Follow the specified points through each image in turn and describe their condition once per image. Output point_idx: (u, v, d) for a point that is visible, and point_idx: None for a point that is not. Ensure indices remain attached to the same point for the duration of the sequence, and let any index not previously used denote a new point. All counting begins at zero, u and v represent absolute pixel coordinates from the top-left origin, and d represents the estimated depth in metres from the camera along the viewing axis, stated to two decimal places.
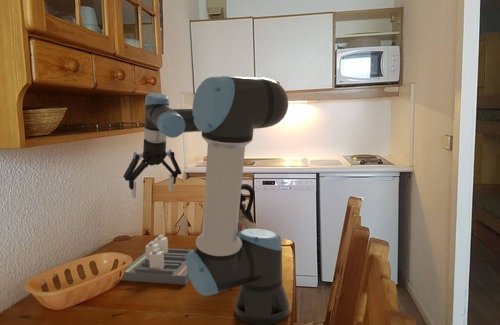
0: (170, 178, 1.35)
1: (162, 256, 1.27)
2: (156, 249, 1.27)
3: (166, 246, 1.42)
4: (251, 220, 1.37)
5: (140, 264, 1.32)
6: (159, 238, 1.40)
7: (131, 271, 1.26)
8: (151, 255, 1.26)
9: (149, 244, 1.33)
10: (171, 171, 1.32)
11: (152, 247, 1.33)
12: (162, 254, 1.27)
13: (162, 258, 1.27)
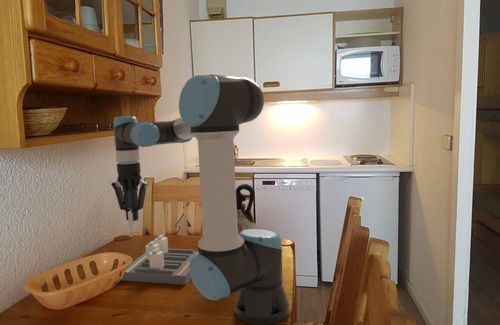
0: None
1: (162, 256, 1.27)
2: (156, 249, 1.27)
3: (166, 246, 1.42)
4: (251, 220, 1.37)
5: (140, 264, 1.32)
6: (159, 238, 1.40)
7: (131, 271, 1.26)
8: (151, 255, 1.26)
9: (149, 244, 1.33)
10: (132, 203, 1.25)
11: (152, 247, 1.33)
12: (162, 254, 1.27)
13: (162, 258, 1.27)
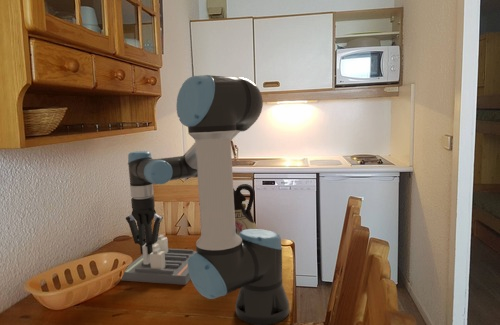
0: None
1: (163, 256, 1.27)
2: (157, 249, 1.27)
3: (166, 246, 1.42)
4: (251, 220, 1.37)
5: (140, 264, 1.32)
6: (159, 238, 1.40)
7: (131, 271, 1.26)
8: (152, 255, 1.26)
9: None
10: (147, 237, 1.25)
11: (152, 247, 1.33)
12: (163, 254, 1.27)
13: (163, 258, 1.27)
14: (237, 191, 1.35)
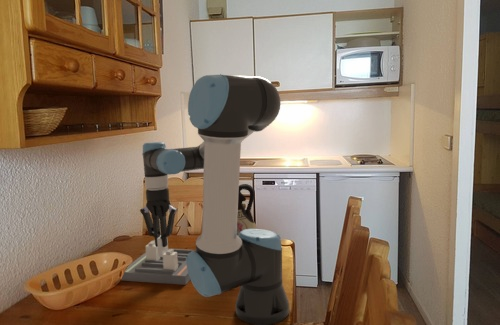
0: None
1: (176, 257, 1.26)
2: (170, 250, 1.26)
3: (166, 246, 1.42)
4: (251, 220, 1.37)
5: (140, 264, 1.32)
6: None
7: (131, 271, 1.26)
8: (165, 256, 1.25)
9: (149, 244, 1.33)
10: (161, 229, 1.24)
11: (152, 247, 1.33)
12: (176, 255, 1.26)
13: (176, 259, 1.26)
14: None
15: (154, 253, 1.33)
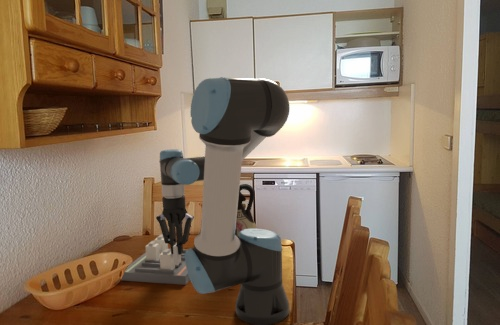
0: None
1: (173, 257, 1.26)
2: (167, 250, 1.26)
3: (166, 246, 1.42)
4: (251, 220, 1.37)
5: (140, 264, 1.32)
6: (159, 238, 1.40)
7: (131, 271, 1.26)
8: (162, 256, 1.25)
9: (149, 244, 1.33)
10: (177, 237, 1.23)
11: (152, 247, 1.33)
12: (173, 255, 1.26)
13: (173, 259, 1.26)
14: None
15: (154, 253, 1.33)
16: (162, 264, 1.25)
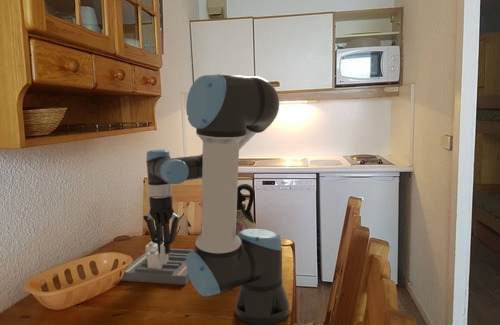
0: None
1: (160, 256, 1.27)
2: (154, 249, 1.27)
3: None
4: (251, 220, 1.37)
5: (140, 264, 1.32)
6: None
7: (131, 271, 1.26)
8: (149, 255, 1.26)
9: (149, 244, 1.33)
10: (164, 237, 1.24)
11: (152, 247, 1.33)
12: (160, 254, 1.27)
13: (160, 258, 1.27)
14: (237, 191, 1.35)
15: None
16: (149, 263, 1.26)
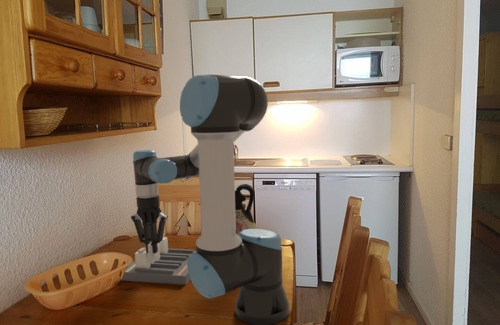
0: None
1: (148, 256, 1.28)
2: (142, 248, 1.28)
3: (166, 246, 1.42)
4: (251, 220, 1.37)
5: None
6: None
7: (131, 271, 1.26)
8: (137, 254, 1.27)
9: None
10: (152, 236, 1.25)
11: None
12: None
13: (148, 257, 1.28)
14: (237, 191, 1.35)
15: None
16: (137, 263, 1.27)
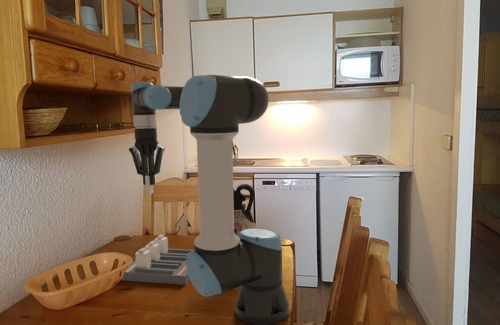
0: None
1: (148, 256, 1.28)
2: (143, 248, 1.28)
3: (166, 246, 1.42)
4: (251, 220, 1.37)
5: None
6: (159, 238, 1.40)
7: (131, 271, 1.26)
8: (138, 254, 1.27)
9: (149, 244, 1.33)
10: (149, 168, 1.28)
11: (152, 247, 1.33)
12: (149, 253, 1.28)
13: (149, 257, 1.28)
14: (237, 191, 1.35)
15: (154, 253, 1.33)
16: (138, 263, 1.27)
